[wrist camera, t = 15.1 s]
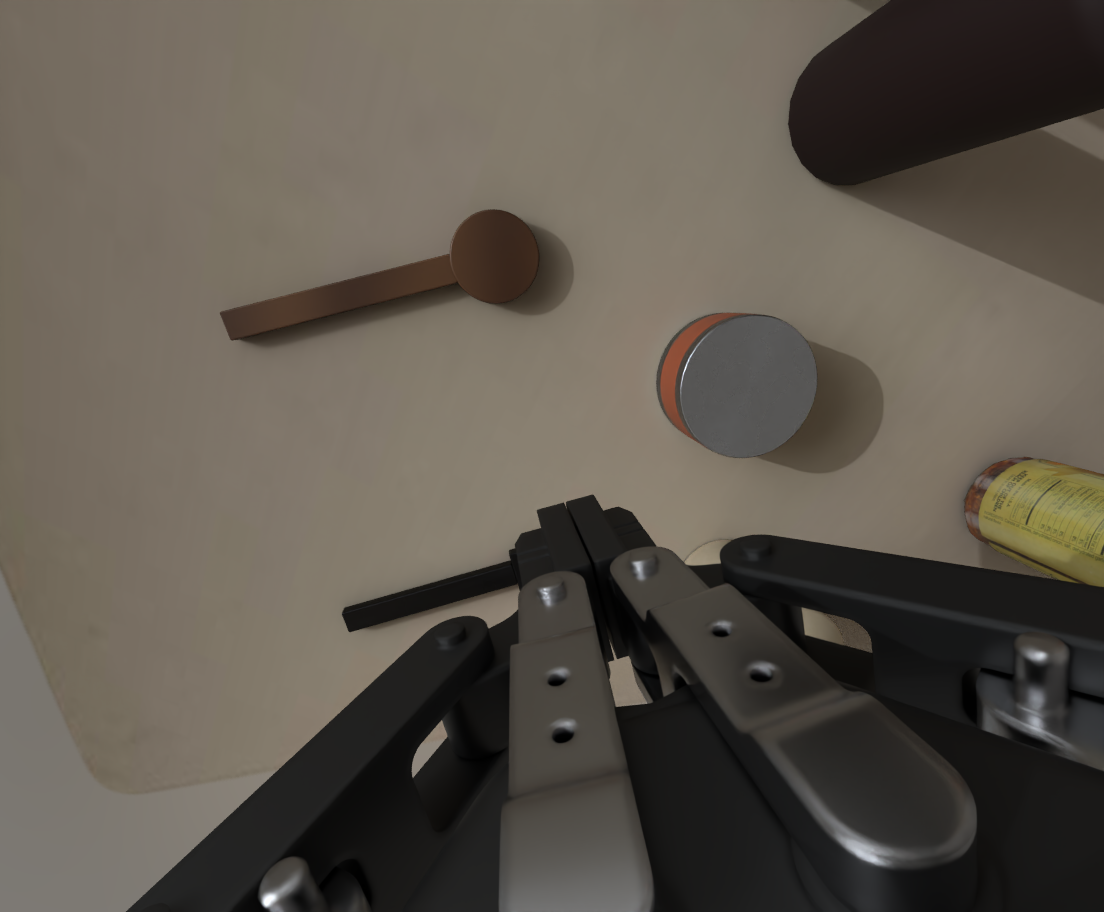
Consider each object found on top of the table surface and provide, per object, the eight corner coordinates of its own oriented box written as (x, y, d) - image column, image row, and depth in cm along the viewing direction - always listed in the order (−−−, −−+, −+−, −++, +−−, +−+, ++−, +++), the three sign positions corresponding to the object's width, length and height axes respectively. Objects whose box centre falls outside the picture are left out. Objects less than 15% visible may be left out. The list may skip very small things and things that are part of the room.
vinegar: (788, 196, 31) (1315, 21, 11) (780, 50, 29) (1397, -456, 10) (907, 176, 31) (1603, -24, 12) (908, 31, 29) (1735, -484, 10)
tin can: (641, 335, 31) (664, 340, 28) (766, 295, 32) (805, 294, 28) (672, 457, 34) (697, 477, 30) (788, 418, 34) (828, 433, 30)
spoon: (248, 368, 29) (240, 371, 28) (213, 281, 28) (203, 280, 27) (546, 291, 30) (549, 291, 29) (524, 203, 29) (526, 199, 28)
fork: (355, 635, 34) (352, 642, 33) (339, 597, 33) (337, 603, 32) (619, 559, 35) (622, 564, 34) (610, 520, 34) (612, 525, 33)
